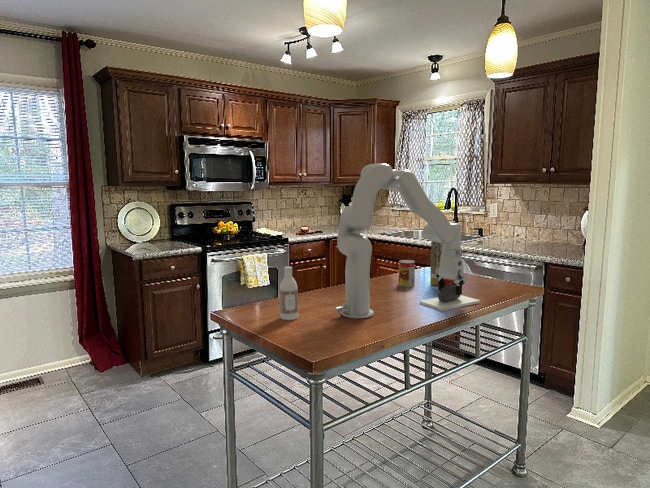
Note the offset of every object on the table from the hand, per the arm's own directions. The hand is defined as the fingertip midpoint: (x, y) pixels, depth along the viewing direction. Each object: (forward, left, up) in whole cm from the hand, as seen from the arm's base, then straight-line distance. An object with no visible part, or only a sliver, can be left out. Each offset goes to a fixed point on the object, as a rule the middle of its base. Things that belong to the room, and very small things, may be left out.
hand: (450, 292), depth 194 cm
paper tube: (+20, +28, -5) cm, 35 cm away
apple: (+12, +14, -5) cm, 19 cm away
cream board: (0, 0, -5) cm, 5 cm away
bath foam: (-67, +18, -5) cm, 70 cm away
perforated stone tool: (0, 0, -4) cm, 4 cm away
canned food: (+7, +36, -5) cm, 37 cm away
